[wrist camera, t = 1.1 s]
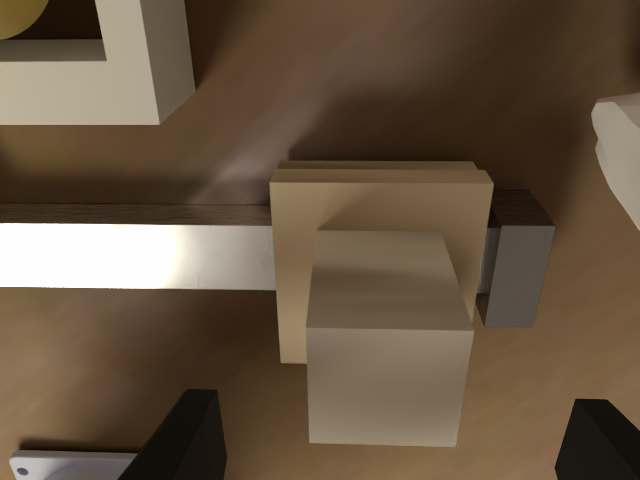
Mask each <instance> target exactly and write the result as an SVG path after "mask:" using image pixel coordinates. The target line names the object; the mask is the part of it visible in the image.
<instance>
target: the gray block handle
mask: <svg viewBox="0 0 640 480" xmlns="http://www.w3.org/2000/svg"><path fill="white" fill-rule="evenodd" d="M555 228H556V225H555V224H554V223H553V221H552V220H551V219H550V218H549V216H548V215H547V214H546V212H545V211H544V210H543V208H542V207H541V206H540V204H539V203H538V202H537V200H536V199H535V198H534V196H533V195H532V194H531V192H530V191H520V190H493V192H492V199H491V205H490V211H489V218H488V224H487V230H486V237H485V243H484V250H483V256H482V262H481V269H480V275H479V281H478V288H477V294H476V300H475V302H476V305H477V308H478V311H479V313H480V316H481V319H482V321H483V324H484V327H519V328H533V324H534V320H535V316H536V311H537V307H538V303H539V298H540V294H541V289H542V285H543V281H544V276H545V272H546V267H547V263H548V259H549V254H550V250H551V246H552V241H553V237H554V232H555ZM0 286H26V287H94V288H162V289H231V290H276V280H275V264H274V249H273V233H272V217H271V205H138V204H3V203H0Z"/></svg>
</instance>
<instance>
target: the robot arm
mask: <svg viewBox="0 0 640 480" xmlns="http://www.w3.org/2000/svg"><path fill="white" fill-rule="evenodd" d="M226 460H227V455H226V448H225V441H224V434H223V427H222V421H221V414H220V407H219V400H218V393H217V390H206V389H187V390H186V391H185V392H184V393H183V394H182V395H181V397H180V398H179V400H178V401H177V402H176V404H175V405H174V407H173V408H172V409H171V411H170V412H169V414H168V415H167V416H166V418H165V419H164V420H163V422H162V423H161V424H160V426H159V427H158V428H157V430H156V431H155V432H154V434H153V435H152V436H151V438H150V439H149V440H148V441H147V443H146V444H145V445H144V447H143V448H142V449H141V450H140V452H139V453H106V452H72V451H37V450H18V451H15V452H14V453H13V454H12V456H11V457H10V459H9V463H10V465H11V468H12V470H13V472H14V475H15V477H16V479H17V480H223V478H224V472H225V466H226ZM555 471H556V475H557V479H558V480H640V431H639V430H638V429H637V428H636V427H635V426H634V425H633V424H632V423H631V422H630V421H629V420H628V419H627V418H626V417H625V416H624V415H623V414H622V413H621V412H620V411H619V410H618V409H617V408H616V407H615V406H613V405H612V404H611V403H610V402H609V401H608V400H606V399H575V402H574V406H573V409H572V412H571V416H570V419H569V422H568V425H567V429H566V432H565V435H564V439H563V442H562V445H561V448H560V452H559V455H558V458H557V462H556V465H555Z"/></svg>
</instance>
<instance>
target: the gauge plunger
mask: <svg viewBox="0 0 640 480" xmlns="http://www.w3.org/2000/svg"><path fill="white" fill-rule="evenodd" d="M48 1H49V0H0V40H3V39H7V38H10V37H13V36H15V35H17V34H20V33H21V32H23V31H24V30H26V29H27V28H29V27H30V26H31V25H32V24H33V23H34V22H35V21H36V20H37V19H38V18H39V16H40V15H41V14H42V12H43V11H44V9H45V7H46V5H47V3H48Z"/></svg>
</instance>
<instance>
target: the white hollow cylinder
mask: <svg viewBox="0 0 640 480" xmlns="http://www.w3.org/2000/svg"><path fill="white" fill-rule="evenodd" d="M591 116H592V123H593V128H594V130H595V132H596V134H597V137H598V141H597V144H596V147H595V151H596V154H597V158H598V161H599V164H600V167H601V169H602V171H603V174H604V176H605V178H606V180H607V183H608V185H609V187H610V189H611V190H612V192H613V193H614V195H615V196H616V198H617V199H618V200H619V202H620V203H621V205H622V206H623V207H624V209H625V210H626V212H627V213H628V215H629V216H630V218H631V219H632V221H633V222H634V224H635V225H636V227H637V228H638V230H640V93H634V94H628V95H621V96H613V97H605V98H598V100H597V102H596V104H595V106H594V108H593V110H592V113H591Z"/></svg>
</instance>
